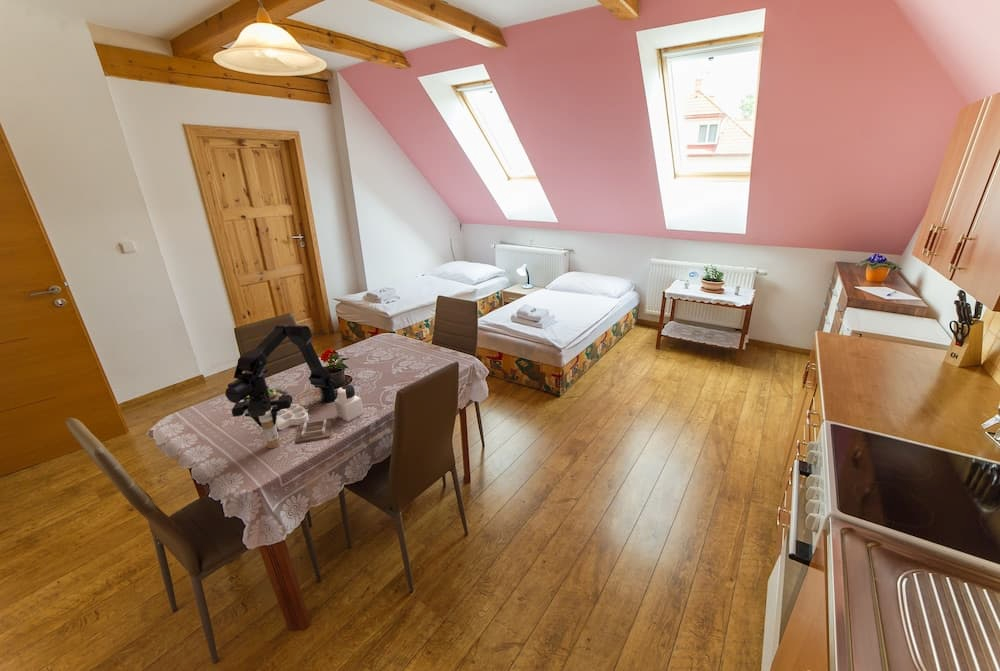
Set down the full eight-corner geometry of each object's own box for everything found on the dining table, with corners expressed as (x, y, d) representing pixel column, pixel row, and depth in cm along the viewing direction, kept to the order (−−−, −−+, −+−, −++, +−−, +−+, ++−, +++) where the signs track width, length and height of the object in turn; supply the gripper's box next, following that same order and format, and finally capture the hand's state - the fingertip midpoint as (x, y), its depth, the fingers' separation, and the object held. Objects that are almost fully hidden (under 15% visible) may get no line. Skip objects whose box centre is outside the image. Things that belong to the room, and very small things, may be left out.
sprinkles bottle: (277, 439, 162) (269, 410, 157) (282, 444, 159) (274, 414, 154) (265, 445, 159) (256, 415, 153) (269, 450, 156) (261, 419, 151)
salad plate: (294, 387, 201) (292, 378, 199) (281, 407, 185) (279, 397, 183) (251, 390, 199) (249, 382, 197) (235, 411, 182) (232, 402, 181)
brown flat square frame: (301, 424, 171) (300, 420, 170) (332, 419, 174) (331, 414, 173) (296, 443, 159) (294, 438, 158) (329, 437, 162) (328, 432, 161)
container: (353, 407, 182) (348, 381, 177) (363, 413, 177) (359, 386, 172) (337, 415, 176) (331, 388, 171) (347, 422, 172) (342, 394, 167)
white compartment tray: (261, 420, 175) (294, 404, 186) (284, 434, 165) (317, 417, 176) (259, 413, 174) (292, 398, 185) (282, 427, 164) (316, 410, 175)
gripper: (220, 404, 140) (233, 442, 146) (281, 395, 144) (291, 432, 150) (231, 388, 150) (242, 424, 156) (287, 380, 154) (296, 416, 160)
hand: (268, 425), depth 155 cm, fingers closed on sprinkles bottle, 4 cm apart
